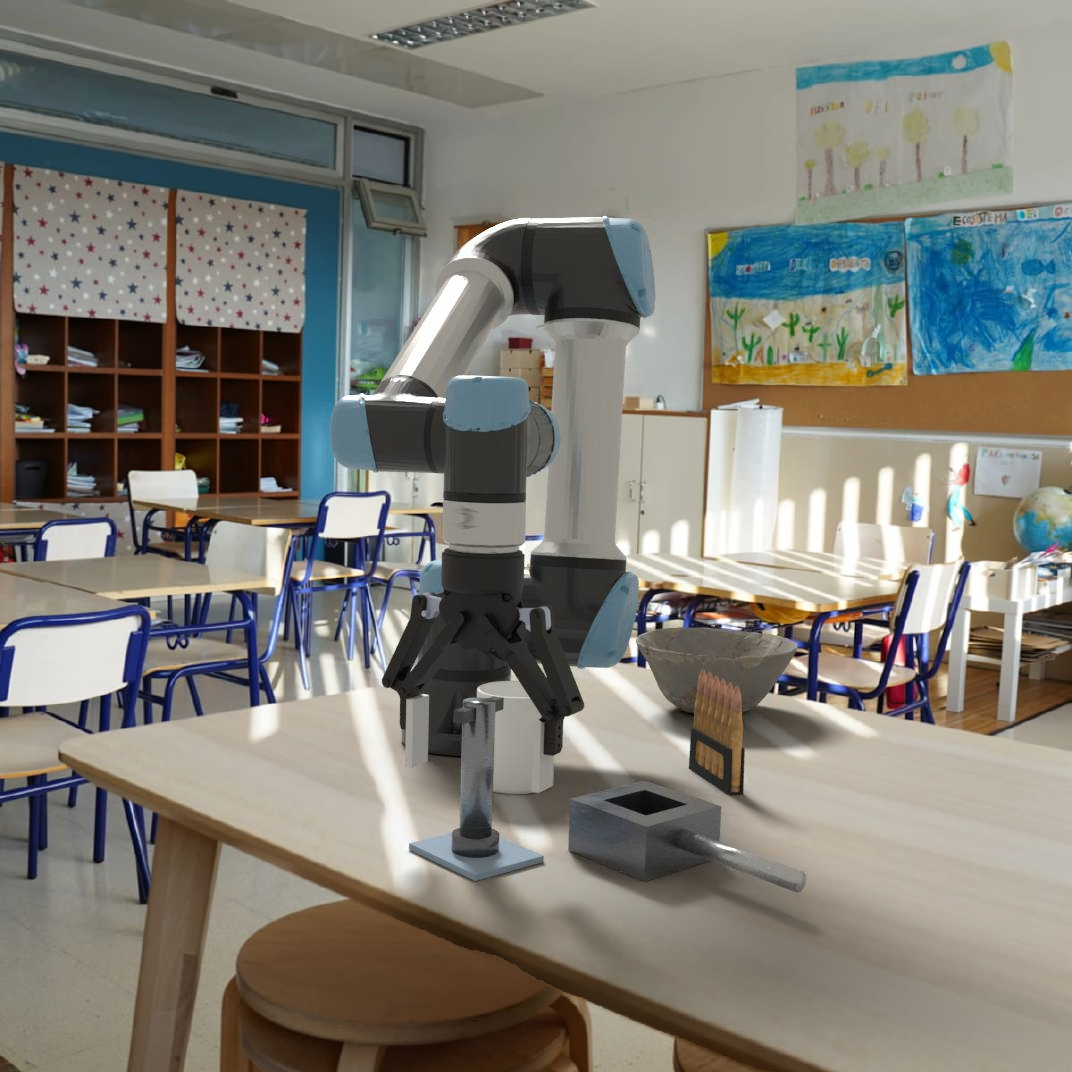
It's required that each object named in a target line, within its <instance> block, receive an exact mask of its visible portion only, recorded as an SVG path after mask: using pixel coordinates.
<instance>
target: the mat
mask: <svg viewBox="0 0 1072 1072" xmlns="http://www.w3.org/2000/svg"><path fill="white" fill-rule="evenodd" d="M451 848H452V832H450V833H445V834H442V835H437V836H434V837H429V838H426V839H420V840H416V841H413V842H408V850H410V851H411V852H413V853H415V854H418V855H419V856H422V857H424V858H426V859H428V860H430V861H432V862H434V863H437V864H439V865H440V866H442V867H445V868H447V869H449V870H451V871H453V872H455V873H457V874H459V875H461V876H464V877H466V878H467V879H470V880H472V881H474V882H478V881H480V880H481V881H482V880H484V879H485V880H486V879H487V878H491V877H492V878H493V877H495V876H499V875H502V874H503V875H504V874H506V873H509V872H513V871H516V870H520V869H523V868H527V867H530V866H535V865H538V864H541V863H544V861H545V860H544V859H545V857H544V855H543V854H541V853H540V852H539V853H538V852H536V851H534V850H532V849H529V848H527V847H524V846H522V845H519V844H517V843H515V842H512V841H511V840H509V839H506V838H504V837H501V836H499V851H498V853H497V854H495V855H492V856H489V857H483V858H469V857H463V856H459V855H457V854H455V853H453V852H452V849H451Z"/></svg>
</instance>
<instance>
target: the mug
mask: <svg viewBox="0 0 1072 1072" xmlns="http://www.w3.org/2000/svg"><path fill="white" fill-rule="evenodd" d="M493 696H496V697H502V698H504V706H503V710H500V711H498V712H495V742H494V777H493V793H499V794H503V795H504V794H505V795H527V794H528V795H529V794H533V793H535V792H531V785H532V751H533V720H535V719H537V718H540V717H542V716H541V714H540V713H539V711H538V710H537V708H536V707H535V705H534V704H533V702H532V700H531V699H530V697H529V696H528V694H527V693H526V691H525V690H524V688H523V687H522V685H521V683H520V682H519V680H511V681H498V682H491V683H486V684H482V685H480V686H479V687H478V688H477V698H490V697H493ZM535 794H536V793H535Z"/></svg>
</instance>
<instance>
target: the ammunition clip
mask: <svg viewBox="0 0 1072 1072" xmlns="http://www.w3.org/2000/svg"><path fill="white" fill-rule="evenodd" d="M693 715H694V716H693V725H692V726H690V740H689V741H690V743H689V744H690V745H689V757H688V769H689V770H690V771H691V772H693V773H694V774H696V775H697V776H699V777H700V778H702V779H703V780H705V781H706V782H708V783H710V784H711V785H712V786H714V787H715V788H717V789H718V790H719V791H721V792H723V793H724V794H726V795H728V796H730V795H733V796H734V795H744V786H745V755H746V754H745V750H746V749H745V747H743V736H744V735H743V734H744V722H743V712H742V699H741V692H740V689H739V686H736V687H735V689H733V686H732V683H731V682H729V684H728V686H726V682H725V680H724V679H722V681H721V683H720V681H719V678H718V676H715V678H714V680H713V677H712V674H711V672H709V673H708V675H707V677H706V673H705V670H704V669H702V671H701V673H700V676H699V680H698V686H697V697H696V702H695V710H694V713H693Z"/></svg>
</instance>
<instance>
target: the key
mask: <svg viewBox="0 0 1072 1072" xmlns="http://www.w3.org/2000/svg"><path fill="white" fill-rule="evenodd" d="M503 706H504V698H502V697H496V696H493V697H490V698H467V699H464V700H463V707H462V708H459V709H456V710H453V723H459V724H462V754H461V756H460V757H461V759H460V760H461V765H460V796H459V797H460V799H459V800H460V801H459V803H460V804H459V827H458V828H455V829H454V830H452V832H451V833H452V848H451V849H452V852H453V853H455V854H457V855H459V856H463V857H469V858H483V857H489V856H492V855H495V854H497V853H498V851H499V837H500V831H498V830H497V829H495V828H493V808H494V807H493V806H494V805H493V803H494V801H493V800H494V792H493V777H494V742H495V712H498V711H500V710H503Z"/></svg>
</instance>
